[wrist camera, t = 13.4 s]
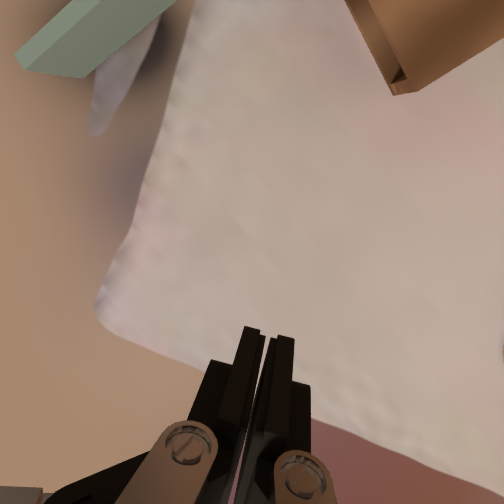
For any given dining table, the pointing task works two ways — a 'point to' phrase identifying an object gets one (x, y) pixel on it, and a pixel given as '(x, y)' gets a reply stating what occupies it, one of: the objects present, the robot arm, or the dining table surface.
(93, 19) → the sage green panel
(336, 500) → the robot arm
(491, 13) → the cabinet
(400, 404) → the dining table surface
